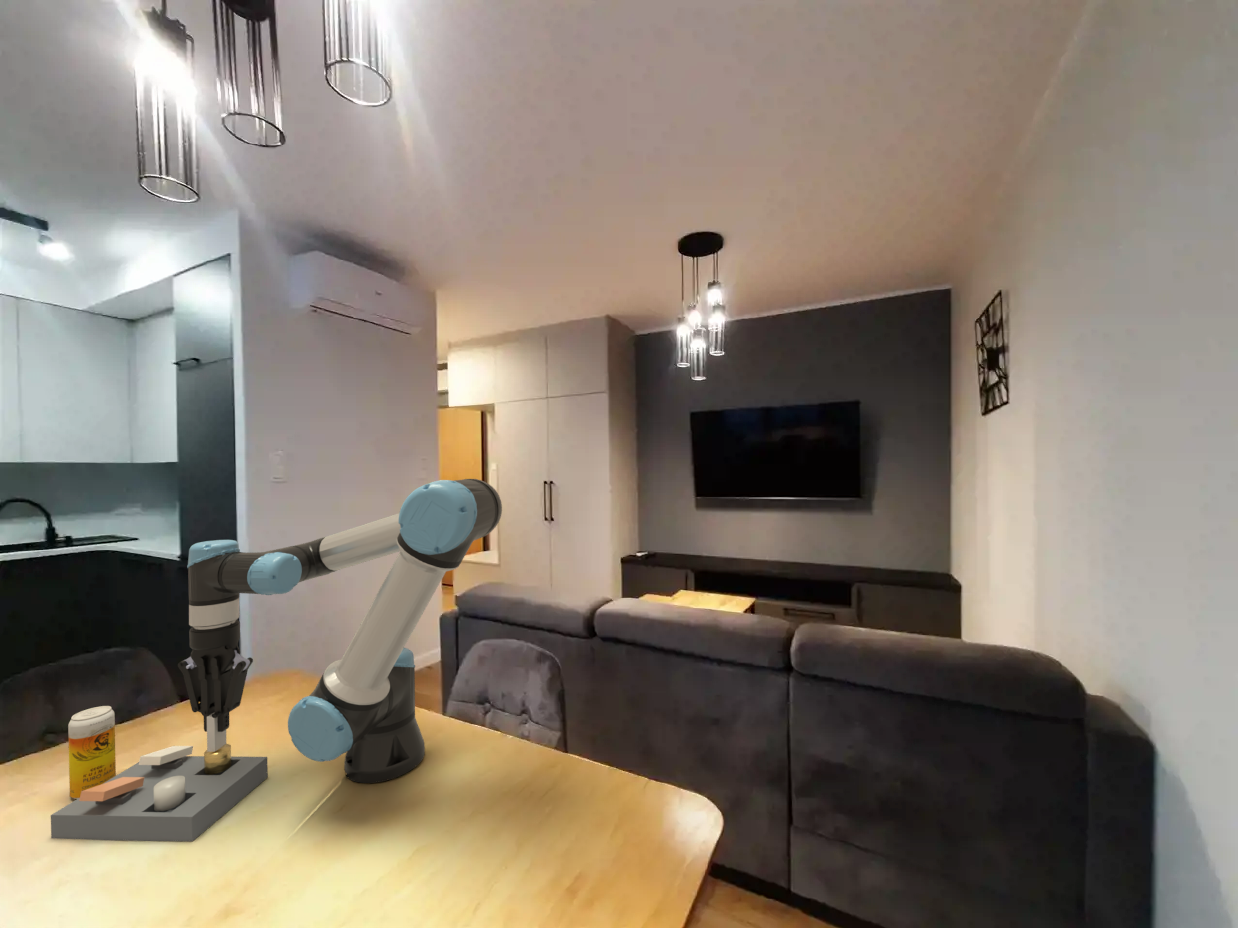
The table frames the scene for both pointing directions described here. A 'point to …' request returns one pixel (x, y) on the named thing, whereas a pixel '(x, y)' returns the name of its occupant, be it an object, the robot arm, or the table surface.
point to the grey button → (169, 793)
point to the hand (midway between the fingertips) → (216, 747)
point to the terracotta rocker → (111, 789)
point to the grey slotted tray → (141, 822)
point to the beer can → (91, 749)
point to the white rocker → (165, 755)
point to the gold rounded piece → (217, 760)
